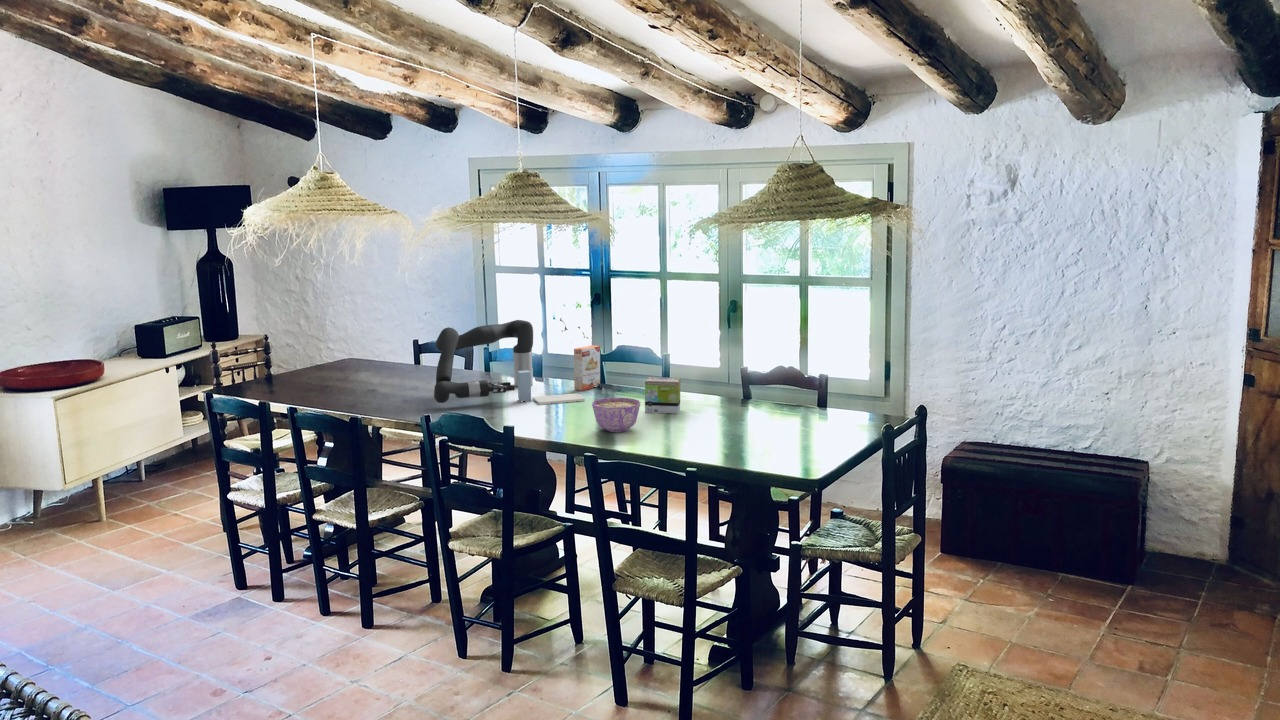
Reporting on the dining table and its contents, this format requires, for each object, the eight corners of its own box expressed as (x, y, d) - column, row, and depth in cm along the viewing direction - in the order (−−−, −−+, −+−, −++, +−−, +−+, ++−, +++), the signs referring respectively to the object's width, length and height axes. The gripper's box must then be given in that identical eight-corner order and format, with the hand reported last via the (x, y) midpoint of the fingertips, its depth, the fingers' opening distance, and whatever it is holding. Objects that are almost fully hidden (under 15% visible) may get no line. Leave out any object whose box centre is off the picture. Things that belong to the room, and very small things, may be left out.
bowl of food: (636, 436, 395) (636, 408, 393) (587, 435, 399) (587, 407, 397) (644, 425, 415) (644, 398, 413) (597, 423, 418) (597, 396, 416)
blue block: (518, 400, 467) (517, 371, 465) (528, 399, 469) (527, 370, 466) (520, 402, 462) (519, 372, 460) (531, 401, 464) (530, 372, 462)
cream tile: (532, 399, 468) (532, 396, 468) (577, 395, 475) (576, 393, 475) (538, 404, 456) (538, 402, 456) (584, 401, 463) (584, 398, 463)
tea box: (644, 413, 436) (644, 380, 434) (647, 408, 446) (647, 376, 443) (678, 414, 434) (678, 381, 431) (680, 409, 444) (680, 377, 441)
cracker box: (583, 391, 486) (582, 349, 482) (573, 390, 489) (572, 348, 486) (601, 386, 497) (600, 345, 493) (592, 385, 500) (591, 344, 497)
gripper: (475, 394, 464) (509, 391, 469) (481, 399, 450) (516, 396, 456) (474, 378, 462) (508, 375, 468) (480, 383, 449) (515, 380, 454)
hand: (512, 386), depth 462 cm, fingers open, 8 cm apart
